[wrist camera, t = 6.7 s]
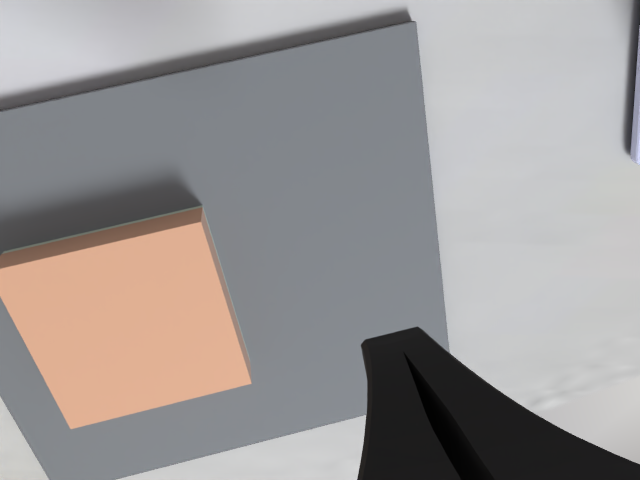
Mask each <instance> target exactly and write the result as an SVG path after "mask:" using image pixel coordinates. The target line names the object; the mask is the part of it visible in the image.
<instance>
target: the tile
mask: <svg viewBox="0 0 640 480" xmlns="http://www.w3.org/2000/svg"><path fill="white" fill-rule="evenodd" d="M0 297H1V299H2V301H3V303H4V305H5V306H6V308H7V310H8V312H9V314H10V316H11V318H12V320H13V322H14V323H15V325H16V327H17V329H18V331H19V333H20V335H21V337H22V338H23V340H24V342H25V344H26V346H27V348H28V350H29V352H30V354H31V355H32V357H33V359H34V361H35V363H36V365H37V367H38V369H39V371H40V372H41V374H42V376H43V378H44V380H45V382H46V384H47V386H48V388H49V389H50V391H51V393H52V395H53V397H54V399H55V401H56V403H57V405H58V406H59V408H60V410H61V412H62V414H63V416H64V418H65V420H66V422H67V423H68V425H69V427H70V429H74V428H78V427H82V426H86V425H90V424H94V423H98V422H102V421H106V420H110V419H114V418H118V417H122V416H125V415H129V414H133V413H137V412H141V411H145V410H149V409H153V408H157V407H161V406H165V405H169V404H173V403H177V402H181V401H185V400H189V399H193V398H197V397H201V396H205V395H209V394H213V393H217V392H221V391H225V390H229V389H233V388H237V387H240V386H244V385H248V384H252V381H251V366H250V358H249V354H248V351H247V348H246V345H245V341H244V338H243V335H242V332H241V328H240V325H239V322H238V319H237V315H236V312H235V309H234V306H233V302H232V299H231V296H230V293H229V289H228V286H227V283H226V280H225V276H224V273H223V270H222V267H221V263H220V260H219V257H218V253H217V250H216V247H215V244H214V240H213V237H212V234H211V231H210V227H209V224H208V221H207V218H206V214H205V211H204V208H203V205H201V206H197V207H193V208H188V209H184V210H180V211H175V212H171V213H167V214H162V215H158V216H154V217H149V218H145V219H141V220H137V221H132V222H128V223H124V224H119V225H115V226H111V227H106V228H102V229H98V230H94V231H89V232H85V233H81V234H76V235H72V236H68V237H63V238H59V239H55V240H50V241H46V242H42V243H38V244H33V245H29V246H25V247H20V248H16V249H12V250H7V251H4V252H3V253H2V254H1V255H0Z"/></svg>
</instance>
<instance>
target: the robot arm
mask: <svg viewBox="0 0 640 480" xmlns="http://www.w3.org/2000/svg"><path fill="white" fill-rule="evenodd" d="M631 159H632V161H633V162H635V163H637V164H639V165H640V27H639V42H638V56H637V70H636V84H635V99H634V113H633V127H632V141H631ZM361 349H362V355H363V360H364V365H365V370H366V376H367V415H366V425H365V436H364V444H363V451H362V457H361V463H360V468H359V474H358V479H357V480H640V464H637V463H635V462H632V461H629V460H627V459H625V458H623V457H620V456H618V455H615V454H613V453H611V452H609V451H607V450H605V449H602V448H600V447H598V446H596V445H594V444H592V443H589V442H587V441H585V440H583V439H581V438H579V437H576V436H574V435H572V434H570V433H568V432H566V431H564V430H563V429H560V428H559V427H557V426H555V425H553V424H552V423H550V422H548V421H546V420H545V419H543V418H541V417H539V416H538V415H536V414H534V413H533V412H531V411H529V410H528V409H526V408H524V407H523V406H521V405H520V404H518V403H516V402H515V401H513V400H512V399H510V398H509V397H507V396H506V395H504V394H503V393H501V392H500V391H498V390H497V389H496V388H494V387H493V386H491V385H490V384H489V383H487V382H486V381H484V380H483V379H482V378H481V377H479V376H478V375H477V374H475V373H474V372H473V371H471V370H470V369H469V368H467V367H466V366H465V365H463V364H462V363H461V362H460V361H458V360H457V359H456V358H455V357H454V356H452V355H451V354H450V353H449V352H448V351H446V350H445V349H444V348H443V347H442V346H440V345H439V344H438V343H437V342H436V341H435V340H434V339H433V338H431V337H430V336H429V335H428V334H427V333H426V332H425V331H424V330H423V329H421V328H419V327H418V326H417V327H413V328H409V329H405V330H401V331H397V332H393V333H389V334H385V335H381V336H377V337H373V338H369V339H365V340H364V341H363V343H362V344H361Z"/></svg>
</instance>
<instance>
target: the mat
mask: <svg viewBox="0 0 640 480" xmlns="http://www.w3.org/2000/svg"><path fill="white" fill-rule="evenodd" d="M201 205H203V208H204V211H205V214H206V218H207V221H208V224H209V227H210V231H211V234H212V237H213V240H214V244H215V247H216V250H217V253H218V257H219V260H220V263H221V267H222V270H223V273H224V276H225V280H226V283H227V286H228V289H229V293H230V296H231V299H232V302H233V306H234V309H235V312H236V315H237V319H238V322H239V325H240V328H241V332H242V335H243V338H244V341H245V345H246V348H247V351H248V354H249V358H250V366H251V381H252V384H248V385H244V386H240V387H237V388H233V389H229V390H225V391H221V392H217V393H213V394H209V395H205V396H201V397H197V398H193V399H189V400H185V401H181V402H177V403H173V404H169V405H165V406H161V407H157V408H153V409H149V410H145V411H141V412H137V413H133V414H129V415H125V416H122V417H118V418H114V419H110V420H106V421H102V422H98V423H94V424H90V425H86V426H82V427H78V428H74V429H70V427H69V425H68V423H67V422H66V420H65V418H64V416H63V414H62V412H61V410H60V408H59V406H58V405H57V403H56V401H55V399H54V397H53V395H52V393H51V391H50V389H49V388H48V386H47V384H46V382H45V380H44V378H43V376H42V374H41V372H40V371H39V369H38V367H37V365H36V363H35V361H34V359H33V357H32V355H31V354H30V352H29V350H28V348H27V346H26V344H25V342H24V340H23V338H22V337H21V335H20V333H19V331H18V329H17V327H16V325H15V323H14V322H13V320H12V318H11V316H10V314H9V312H8V310H7V308H6V306H5V305H4V303H3V301H2V299H1V297H0V396H1V398H2V400H3V402H4V403H5V405H6V407H7V408H8V410H9V412H10V413H11V415H12V417H13V419H14V420H15V422H16V424H17V425H18V427H19V429H20V431H21V432H22V434H23V436H24V437H25V439H26V441H27V442H28V444H29V446H30V448H31V449H32V451H33V453H34V454H35V456H36V458H37V460H38V461H39V463H40V465H41V466H42V468H43V470H44V471H45V473H46V475H47V477H48V478H49V480H116V479H120V478H123V477H127V476H131V475H135V474H139V473H143V472H147V471H150V470H154V469H158V468H162V467H166V466H170V465H174V464H178V463H181V462H185V461H189V460H193V459H197V458H201V457H205V456H208V455H212V454H216V453H220V452H224V451H228V450H232V449H236V448H239V447H243V446H247V445H251V444H255V443H259V442H263V441H266V440H270V439H274V438H278V437H282V436H286V435H290V434H294V433H297V432H301V431H305V430H309V429H313V428H317V427H321V426H324V425H328V424H332V423H336V422H340V421H344V420H348V419H352V418H355V417H359V416H363V415H367V376H366V370H365V365H364V360H363V355H362V349H361V344H362V343H363V341H364V340H365V339H369V338H373V337H377V336H381V335H385V334H389V333H393V332H397V331H401V330H405V329H409V328H413V327H417V326H418V327H419V328H421V329H423V330H424V331H425V332H426V333H427V334H428V335H429V336H430V337H431V338H433V339H434V340H435V341H436V342H437V343H438V344H439V345H440V346H442V347H443V348H444V349H445V350H446V351H448V352H449V343H448V333H447V323H446V313H445V304H444V294H443V284H442V274H441V264H440V254H439V244H438V234H437V224H436V214H435V204H434V194H433V184H432V175H431V165H430V155H429V145H428V135H427V125H426V115H425V105H424V95H423V85H422V75H421V65H420V55H419V45H418V36H417V26H416V22H415V21H409V22H405V23H400V24H396V25H391V26H386V27H382V28H377V29H373V30H368V31H363V32H359V33H354V34H350V35H345V36H340V37H336V38H331V39H327V40H322V41H318V42H313V43H308V44H304V45H299V46H295V47H290V48H285V49H281V50H276V51H272V52H267V53H262V54H258V55H253V56H249V57H244V58H239V59H235V60H230V61H226V62H221V63H217V64H212V65H207V66H203V67H198V68H194V69H189V70H184V71H180V72H175V73H171V74H166V75H161V76H157V77H152V78H148V79H143V80H138V81H134V82H129V83H125V84H120V85H116V86H111V87H106V88H102V89H97V90H93V91H88V92H83V93H79V94H74V95H70V96H65V97H60V98H56V99H51V100H47V101H42V102H38V103H33V104H28V105H24V106H19V107H15V108H10V109H5V110H1V111H0V255H1V254H2V253H3V252H4V251H7V250H12V249H16V248H20V247H25V246H29V245H33V244H38V243H42V242H46V241H50V240H55V239H59V238H63V237H68V236H72V235H76V234H81V233H85V232H89V231H94V230H98V229H102V228H106V227H111V226H115V225H119V224H124V223H128V222H132V221H137V220H141V219H145V218H149V217H154V216H158V215H162V214H167V213H171V212H175V211H180V210H184V209H188V208H193V207H197V206H201Z"/></svg>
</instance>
